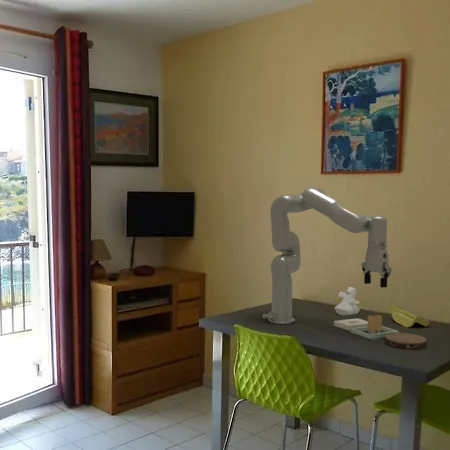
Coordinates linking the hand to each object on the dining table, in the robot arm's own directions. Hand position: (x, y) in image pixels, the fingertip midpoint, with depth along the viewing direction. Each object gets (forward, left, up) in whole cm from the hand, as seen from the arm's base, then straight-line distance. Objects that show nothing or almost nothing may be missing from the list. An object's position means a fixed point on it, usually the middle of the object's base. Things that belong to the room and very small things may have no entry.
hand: (375, 285), depth 226 cm
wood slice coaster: (+2, -16, -22) cm, 27 cm away
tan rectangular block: (0, 0, -21) cm, 21 cm away
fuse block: (0, +13, -22) cm, 25 cm away
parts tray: (0, 0, -22) cm, 22 cm away
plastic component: (+32, +11, -22) cm, 41 cm away
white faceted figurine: (+17, +37, -22) cm, 47 cm away
